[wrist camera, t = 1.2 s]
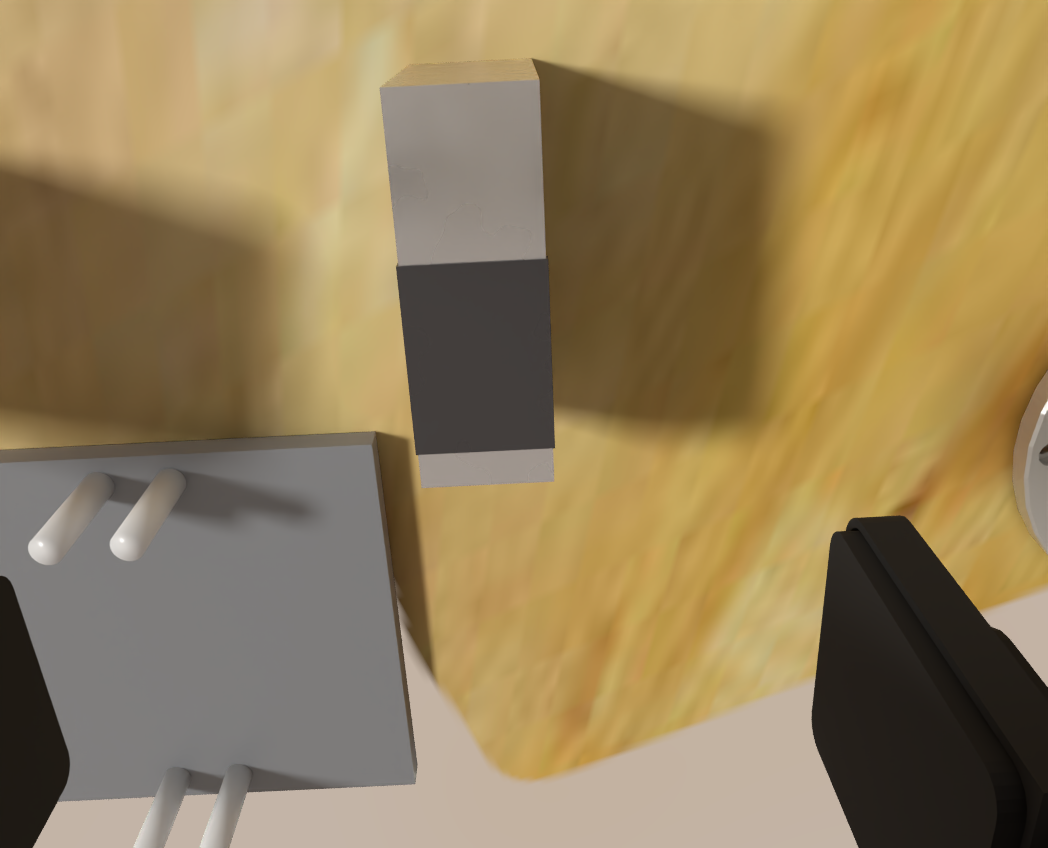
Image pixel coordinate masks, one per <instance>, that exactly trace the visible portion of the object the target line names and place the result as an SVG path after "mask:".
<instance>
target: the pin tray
mask: <svg viewBox="0 0 1048 848" xmlns="http://www.w3.org/2000/svg"><path fill="white" fill-rule="evenodd" d="M0 576H4V577H7V578H8V579H9V580H10V581H11V583H12V586H13V588H14V591H15V593H16V596H17V599H18V602H19V605H20V608H21V611H22V614H23V617H24V620H25V623H26V626H27V629H28V632H29V635H30V638H31V641H32V644H33V647H34V650H35V653H36V656H37V659H38V662H39V665H40V668H41V671H42V674H43V677H44V680H45V683H46V686H47V689H48V692H49V695H50V698H51V701H52V704H53V707H54V710H55V713H56V716H57V719H58V722H59V725H60V728H61V731H62V734H63V737H64V740H65V743H66V746H67V749H68V752H69V757H70V771H69V777H68V781H67V784H66V786H65V789H64V791H63V792H62V794H61V796H60V798H59V800H58V801H59V802H60V801H80V800H100V799H120V798H141V797H155V799H154V801H153V803H152V805H151V808H150V810H149V812H148V815H147V817H146V819H145V822H144V824H143V826H142V829H141V831H140V833H139V835H138V838H137V840H136V843H135V845H134V847H133V848H164V846H165V844H166V841H167V839H168V836H169V834H170V831H171V828H172V826H173V823H174V821H175V818H176V816H177V813H178V811H179V808H180V806H181V803H182V801H183V798H184V796H185V795H201V794H202V795H203V794H218V796H217V799H216V802H215V805H214V808H213V810H212V813H211V816H210V819H209V822H208V824H207V827H206V830H205V833H204V836H203V839H202V842H201V844H200V847H199V848H229V847H230V843H231V840H232V837H233V834H234V831H235V828H236V825H237V822H238V818H239V815H240V812H241V809H242V806H243V803H244V800H245V797H246V793H247V792H262V791H283V790H284V791H285V790H305V789H324V788H325V789H326V788H346V787H366V786H386V785H407V784H415V782H416V773H417V758H416V751H415V742H414V736H413V735H414V734H413V726H412V718H411V710H410V702H409V694H408V687H407V679H406V671H405V664H404V654H403V646H402V638H401V630H400V623H399V615H398V607H397V599H396V591H395V583H394V575H393V567H392V559H391V551H390V543H389V535H388V527H387V519H386V511H385V503H384V495H383V487H382V479H381V471H380V463H379V455H378V447H377V439H376V432H356V433H336V434H316V435H295V436H275V437H255V438H235V439H215V440H195V441H174V442H154V443H134V444H114V445H94V446H73V447H53V448H33V449H13V450H0Z"/></svg>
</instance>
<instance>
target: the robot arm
mask: <svg viewBox="0 0 1048 848" xmlns="http://www.w3.org/2000/svg"><path fill="white" fill-rule="evenodd" d="M1012 482H1013V487H1014V492H1015V497H1016V502H1017V507H1018V510H1019V513H1020V515H1021V517H1022V519H1023V521H1024V523H1025V525H1026V527H1027V529H1028V531H1029V534H1030V535H1031V536H1032V537H1033V538H1034V539H1035V541H1036V542H1037V543H1038V544H1039V545H1040V547H1041V548H1042V549H1043V550H1044V551H1045V553H1046V554H1047V555H1048V371H1047V372H1046V374H1045V375H1044V377H1043V378H1042V380H1041V381H1040V383H1039V384H1038V385H1037V387H1036V389H1035V391H1034V393H1033V395H1032V398H1031V400H1030V402H1029V404H1028V406H1027V409H1026V411H1025V413H1024V415H1023V417H1022V419H1021V423H1020V427H1019V431H1018V435H1017V439H1016V443H1015V447H1014V451H1013V479H1012ZM812 729H813V735H814V739H815V743H816V746H817V749H818V751H819V754H820V756H821V759H822V761H823V764H824V766H825V768H826V771H827V773H828V775H829V778H830V780H831V782H832V785H833V787H834V790H835V792H836V795H837V797H838V799H839V802H840V804H841V807H842V809H843V811H844V814H845V816H846V819H847V821H848V823H849V826H850V828H851V830H852V833H853V835H854V838H855V840H856V843H857V845H858V847H859V848H1048V687H1047V686H1046V685H1045V683H1044V682H1043V681H1042V680H1041V678H1040V677H1039V676H1038V675H1037V673H1036V672H1035V671H1034V669H1033V668H1032V667H1031V665H1030V664H1029V663H1028V662H1027V661H1026V659H1025V658H1024V657H1023V655H1022V654H1021V653H1020V651H1019V650H1018V649H1017V648H1016V646H1015V645H1014V644H1013V643H1012V641H1011V640H1010V639H1009V638H1008V637H1007V636H1006V635H1005V634H1004V633H1003V632H1002V631H1000V630H998V629H995V628H992V627H990V625H989V624H988V623H987V621H986V620H985V619H984V617H983V616H982V615H981V613H980V612H979V611H978V610H977V608H976V607H975V606H974V604H973V603H972V602H971V600H970V599H969V598H968V597H967V595H966V594H965V593H964V591H963V590H962V589H961V587H960V586H959V585H958V584H957V582H956V581H955V580H954V578H953V577H952V576H951V574H950V573H949V572H948V571H947V569H946V568H945V567H944V565H943V564H942V563H941V561H940V560H939V559H938V557H937V556H936V555H935V554H934V552H933V551H932V550H931V548H930V547H929V546H928V544H927V543H926V542H925V541H924V539H923V538H922V537H921V535H920V534H919V533H918V531H917V530H916V529H915V528H914V526H913V525H912V524H911V522H910V521H909V520H908V519H907V518H906V517H905V516H884V517H865V518H853V519H851V520H850V521H849V523H848V525H847V528H846V531H840V532H835V533H834V534H833V536H832V538H831V543H830V551H829V560H828V569H827V579H826V588H825V597H824V606H823V615H822V624H821V634H820V643H819V652H818V661H817V670H816V679H815V688H814V698H813V707H812ZM69 771H70V757H69V752H68V749H67V746H66V743H65V740H64V737H63V734H62V731H61V728H60V725H59V722H58V719H57V716H56V713H55V710H54V707H53V704H52V701H51V698H50V695H49V692H48V689H47V686H46V683H45V680H44V677H43V674H42V671H41V668H40V665H39V662H38V659H37V656H36V653H35V650H34V647H33V644H32V641H31V638H30V635H29V632H28V629H27V626H26V623H25V620H24V617H23V614H22V611H21V608H20V605H19V602H18V599H17V596H16V593H15V591H14V588H13V586H12V583H11V581H10V580H9V579H8V578H7V577H4V576H0V848H33V846H34V844H35V842H36V841H37V839H38V837H39V835H40V833H41V831H42V829H43V828H44V826H45V824H46V822H47V820H48V818H49V816H50V815H51V812H52V811H53V809H54V807H55V805H56V804H57V802H58V800H59V798H60V796H61V794H62V792H63V791H64V789H65V786H66V784H67V781H68V777H69Z"/></svg>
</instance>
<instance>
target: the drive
mask: <svg viewBox="0 0 1048 848" xmlns="http://www.w3.org/2000/svg"><path fill="white" fill-rule="evenodd" d="M380 95H381V104H382V114H383V123H384V133H385V142H386V152H387V161H388V171H389V181H390V190H391V200H392V209H393V219H394V228H395V238H396V247H397V257H398V263H397V266H396V270H397V280H398V289H399V298H400V308H401V317H402V327H403V336H404V346H405V355H406V365H407V374H408V383H409V393H410V402H411V412H412V421H413V431H414V440H415V450H416V455H418V457H419V467H420V476H421V486H422V488H430V487H451V486H471V485H491V484H512V483H532V482H552V481H554V465H553V448H555V437H554V409H553V381H552V353H551V324H550V296H549V268H548V256H546V245H545V218H544V190H543V163H542V135H541V108H540V80H539V77H538V74H537V72H536V69H535V67H534V64H533V61H532V59H531V58H525V59H505V60H485V61H465V62H445V63H426V64H409V65H408V66H406V67H405V68H404V69H403V70H401V71H400V72H399V73H398V74H396V75H395V76H394V77H392V78H391V79H390V80H389V81H387V82H386V83H385V84H384V85H382V86H381V87H380Z"/></svg>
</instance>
